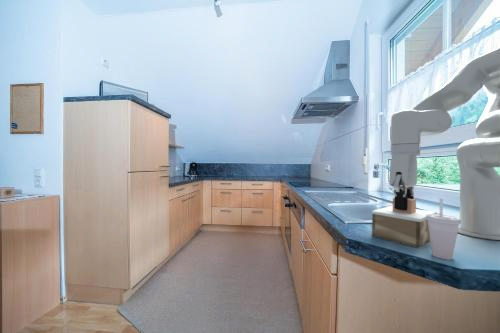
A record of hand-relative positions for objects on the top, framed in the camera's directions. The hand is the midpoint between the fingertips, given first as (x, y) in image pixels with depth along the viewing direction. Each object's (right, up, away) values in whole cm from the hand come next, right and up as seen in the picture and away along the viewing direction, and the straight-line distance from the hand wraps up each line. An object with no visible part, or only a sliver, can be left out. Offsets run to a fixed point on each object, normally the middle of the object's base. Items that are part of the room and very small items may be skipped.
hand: (404, 208), depth 67 cm
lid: (0, -2, 0) cm, 2 cm away
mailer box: (0, -9, 0) cm, 9 cm away
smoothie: (-1, -9, -15) cm, 17 cm away
